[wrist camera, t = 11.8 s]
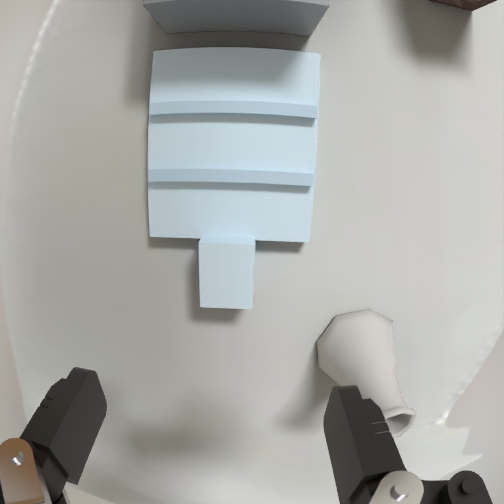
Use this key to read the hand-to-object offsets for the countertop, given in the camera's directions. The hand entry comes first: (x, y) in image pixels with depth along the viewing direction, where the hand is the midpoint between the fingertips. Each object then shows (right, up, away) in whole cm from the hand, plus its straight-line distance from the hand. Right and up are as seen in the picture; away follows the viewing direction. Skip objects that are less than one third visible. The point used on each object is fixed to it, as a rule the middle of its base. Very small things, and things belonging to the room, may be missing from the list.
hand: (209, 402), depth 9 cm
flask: (+10, -3, +16) cm, 20 cm away
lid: (0, +10, +11) cm, 15 cm away
